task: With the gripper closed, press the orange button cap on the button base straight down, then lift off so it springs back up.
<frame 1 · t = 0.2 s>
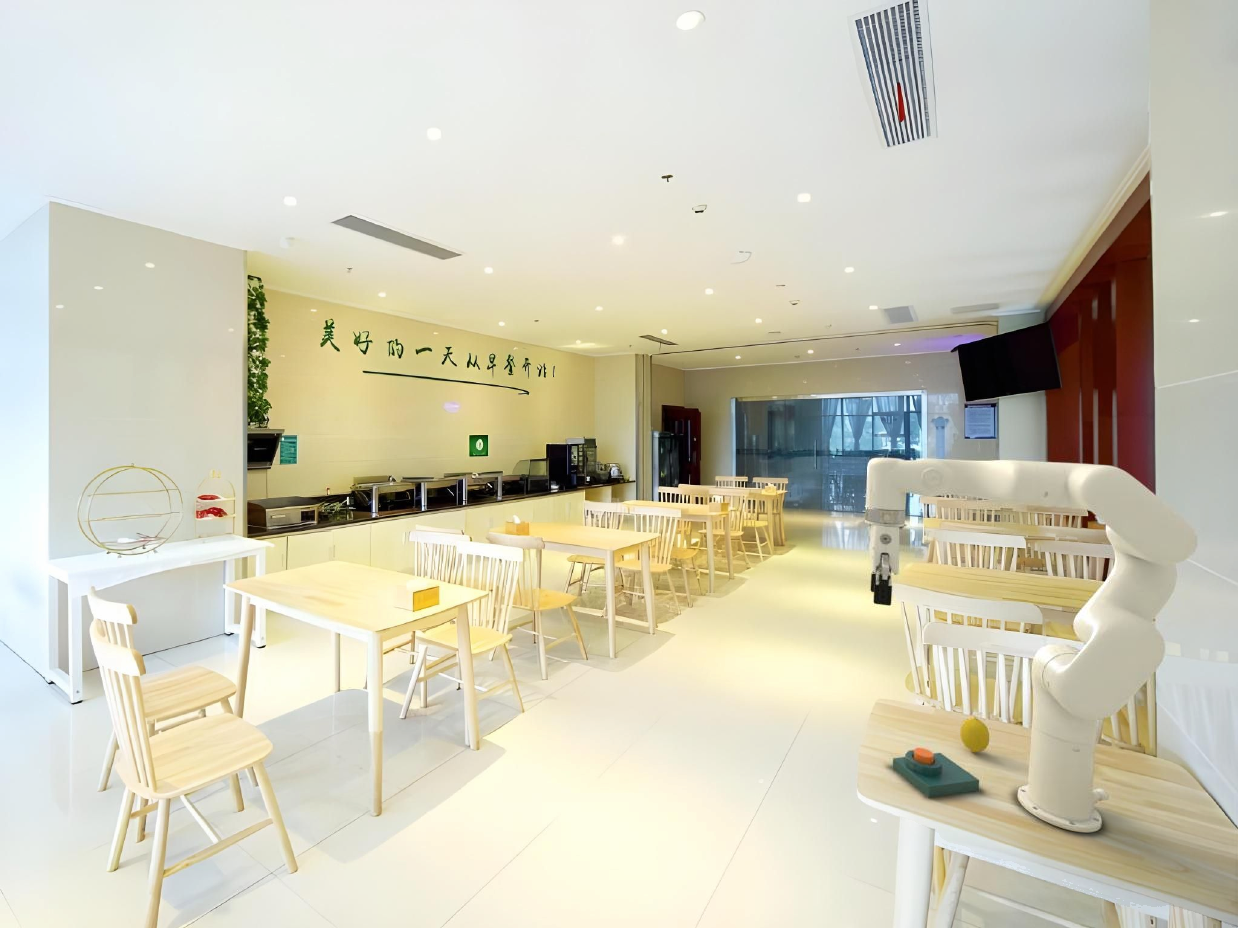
hand: (880, 598, 117), 37 cm above the table, tool pointing down, fingers open, 9 cm apart
lemon: (973, 753, 126), on the table
orange button cap: (923, 756, 116), point 4 cm above the table, slide at 0.1 cm
button base: (934, 778, 115), on the table
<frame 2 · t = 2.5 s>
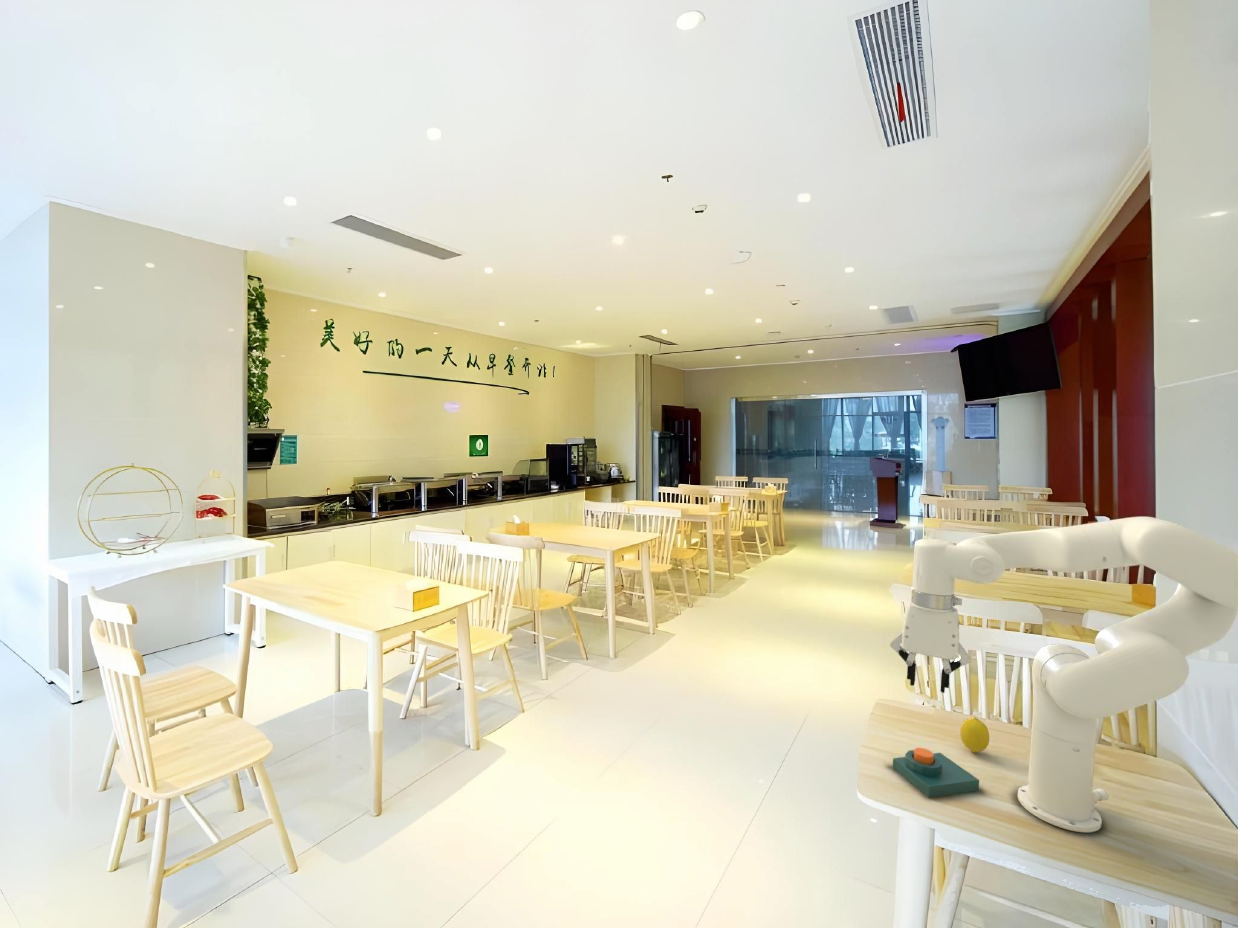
hand: (927, 685, 115), 19 cm above the table, tool pointing down, fingers open, 4 cm apart
nothing on the table moved.
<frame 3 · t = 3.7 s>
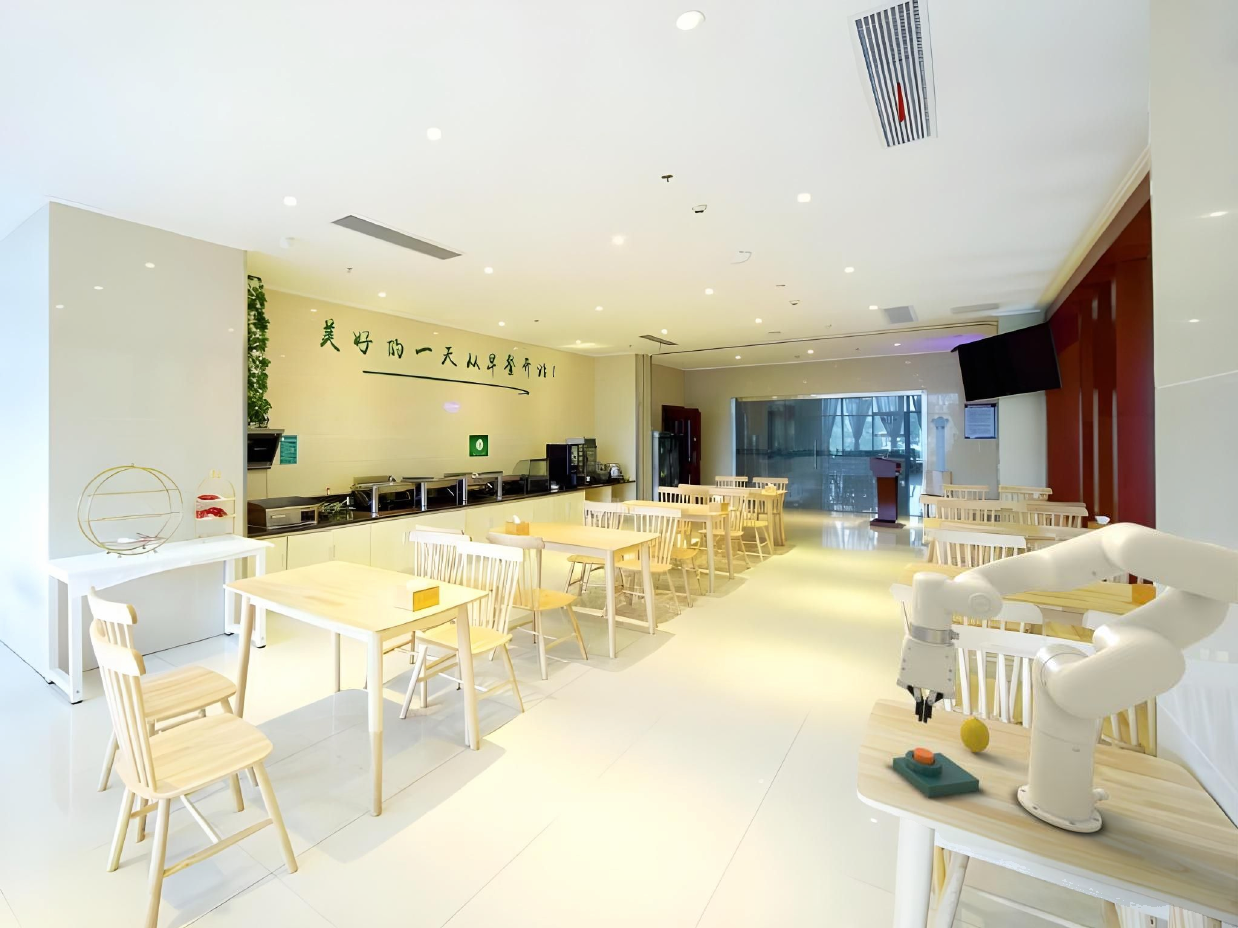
hand: (923, 719, 116), 12 cm above the table, tool pointing down, fingers closed
nothing on the table moved.
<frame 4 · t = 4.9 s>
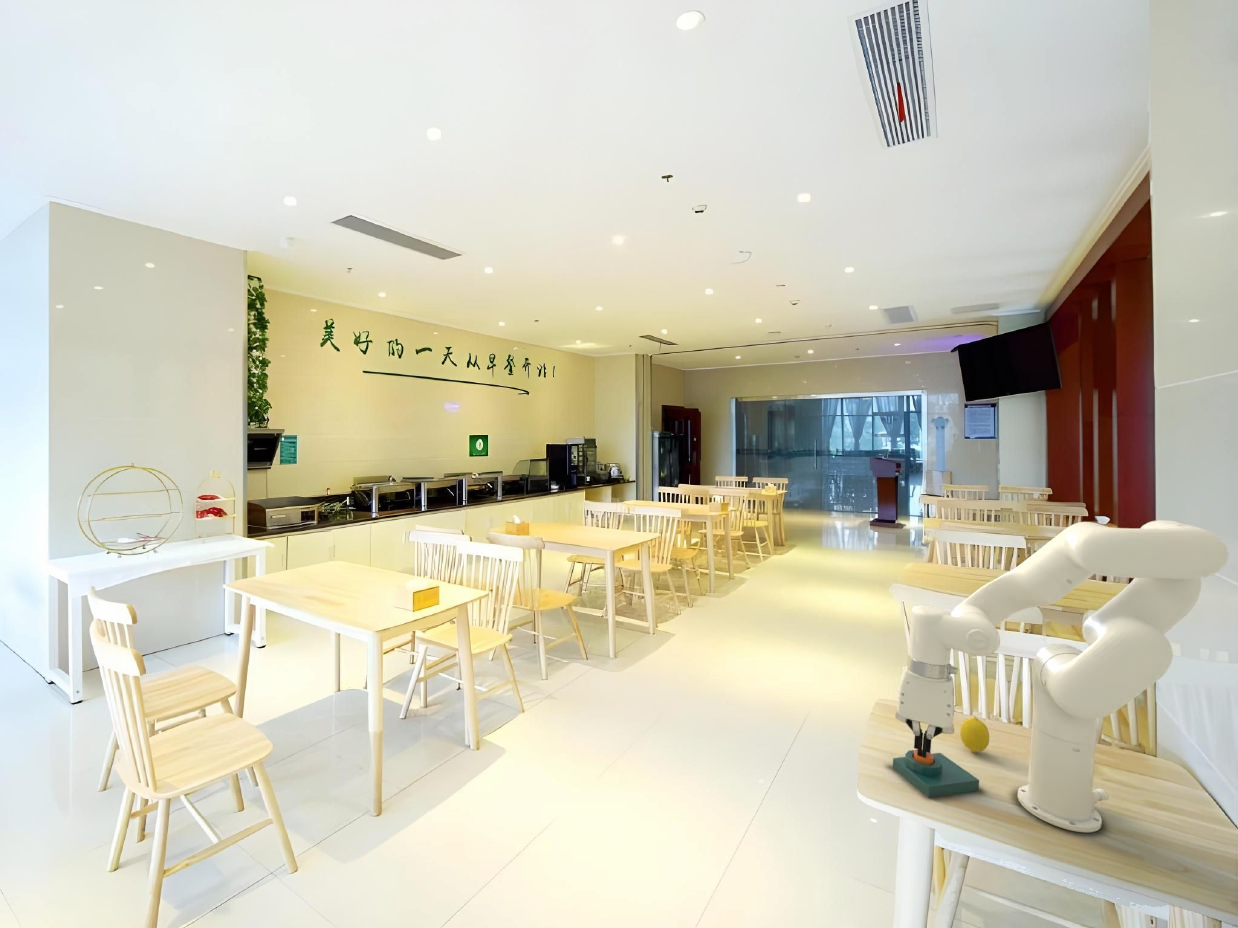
hand: (921, 753, 116), 5 cm above the table, tool pointing down, fingers closed
orange button cap: (923, 757, 116), point 4 cm above the table, slide at -0.3 cm, touching gripper
everything else where it was.
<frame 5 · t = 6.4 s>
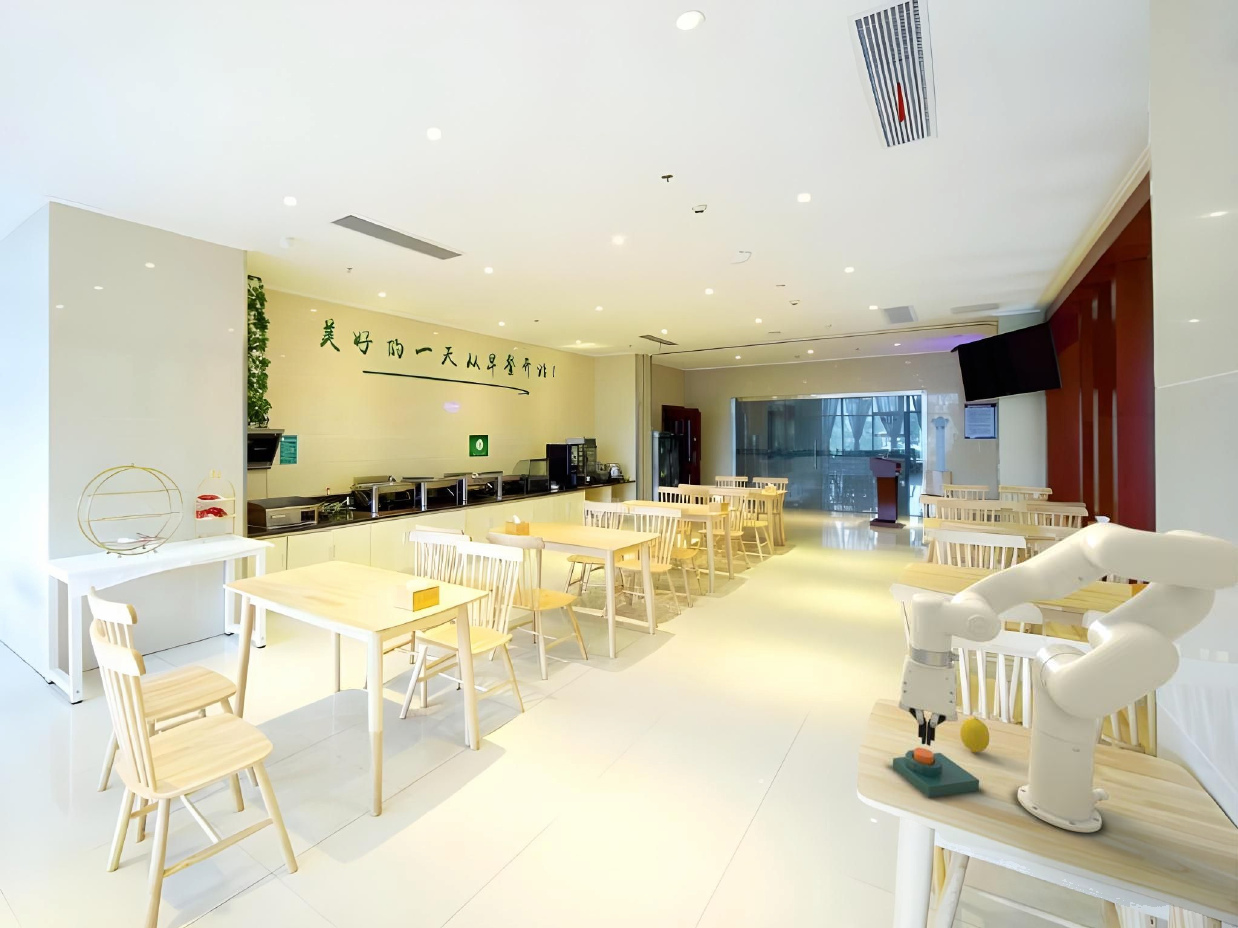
hand: (926, 741, 115), 8 cm above the table, tool pointing down, fingers closed
orange button cap: (923, 756, 116), point 4 cm above the table, slide at 0.1 cm
everything else where it was.
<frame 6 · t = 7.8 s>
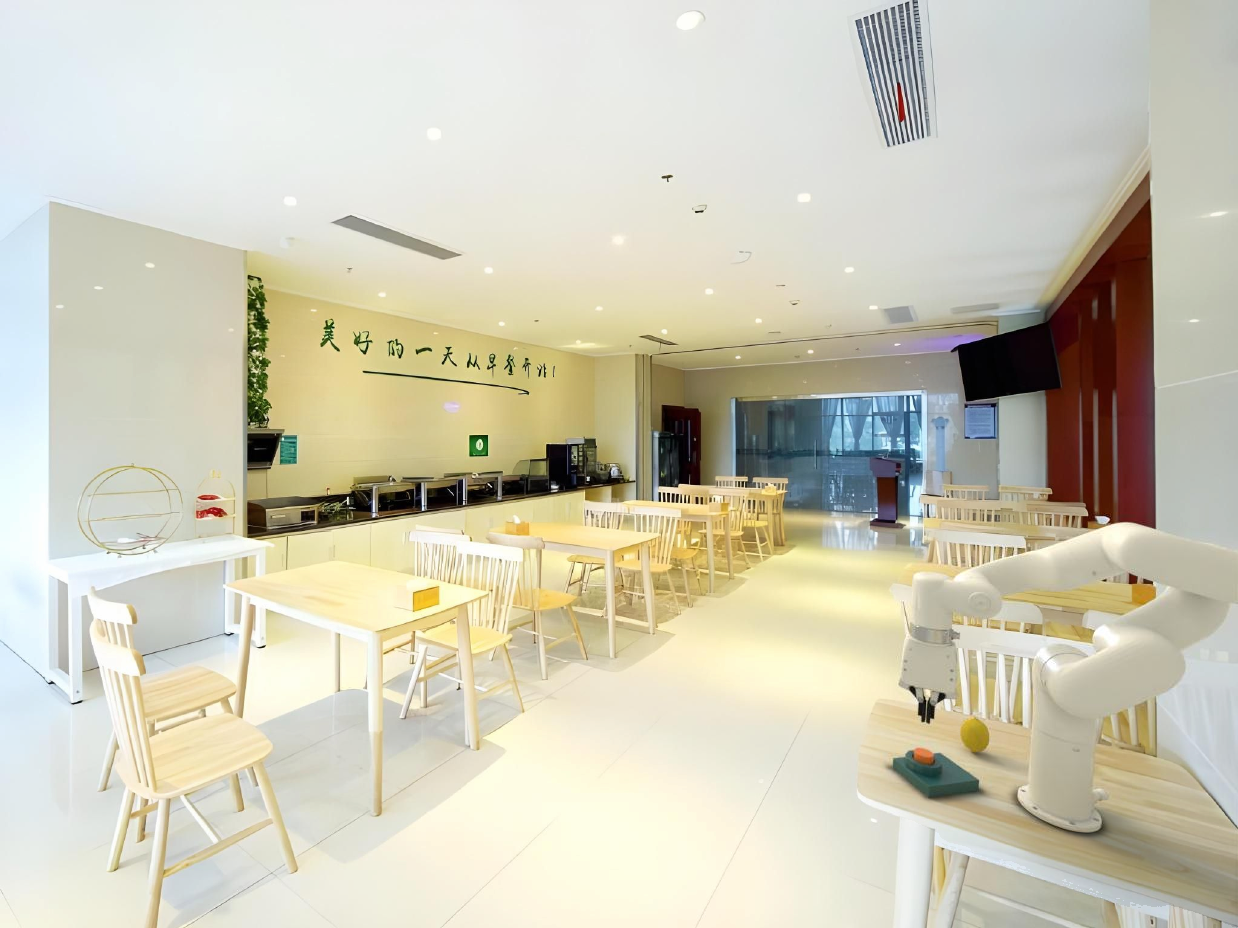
hand: (925, 720, 115), 12 cm above the table, tool pointing down, fingers closed
nothing on the table moved.
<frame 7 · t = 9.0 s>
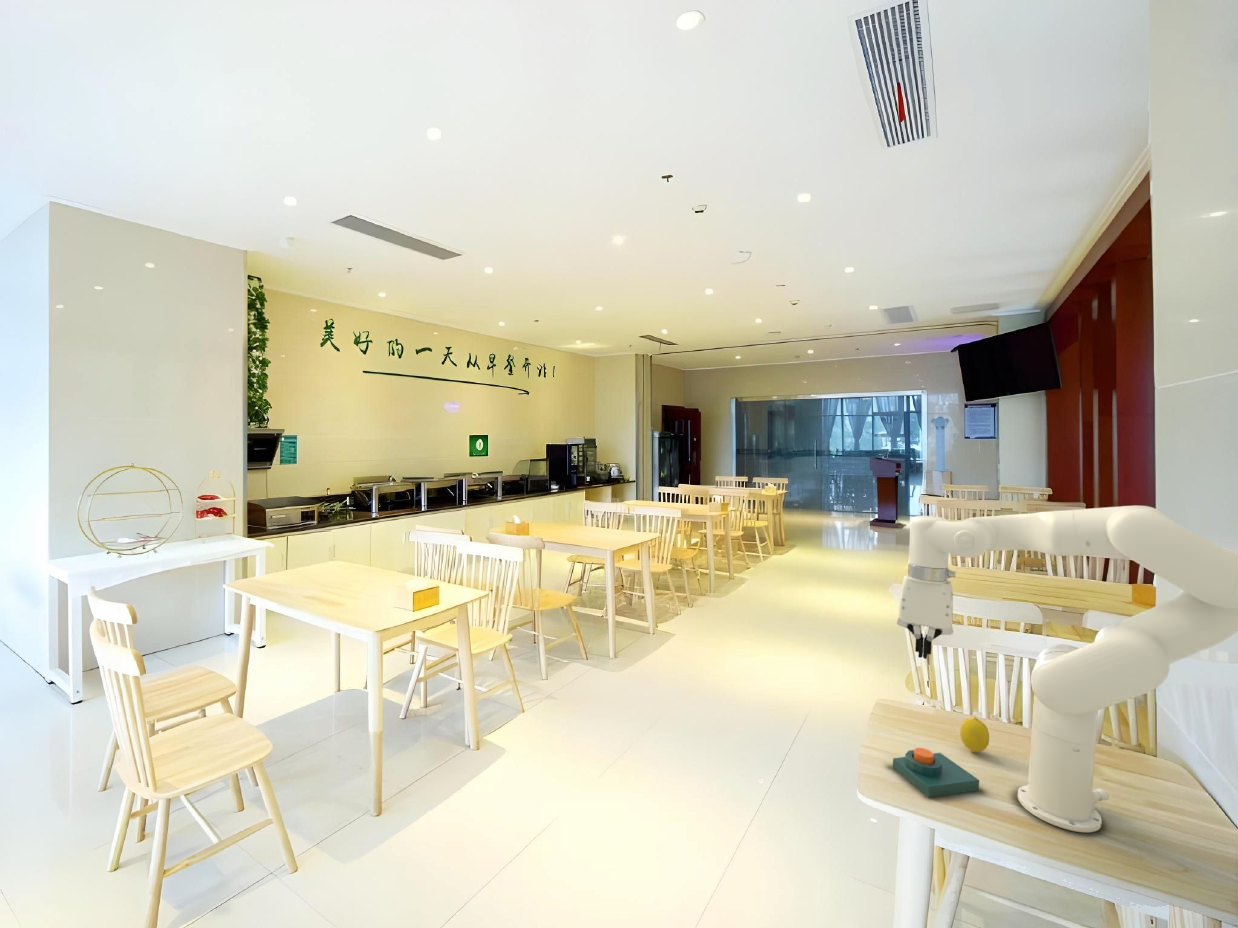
hand: (922, 655, 122), 23 cm above the table, tool pointing down, fingers closed
nothing on the table moved.
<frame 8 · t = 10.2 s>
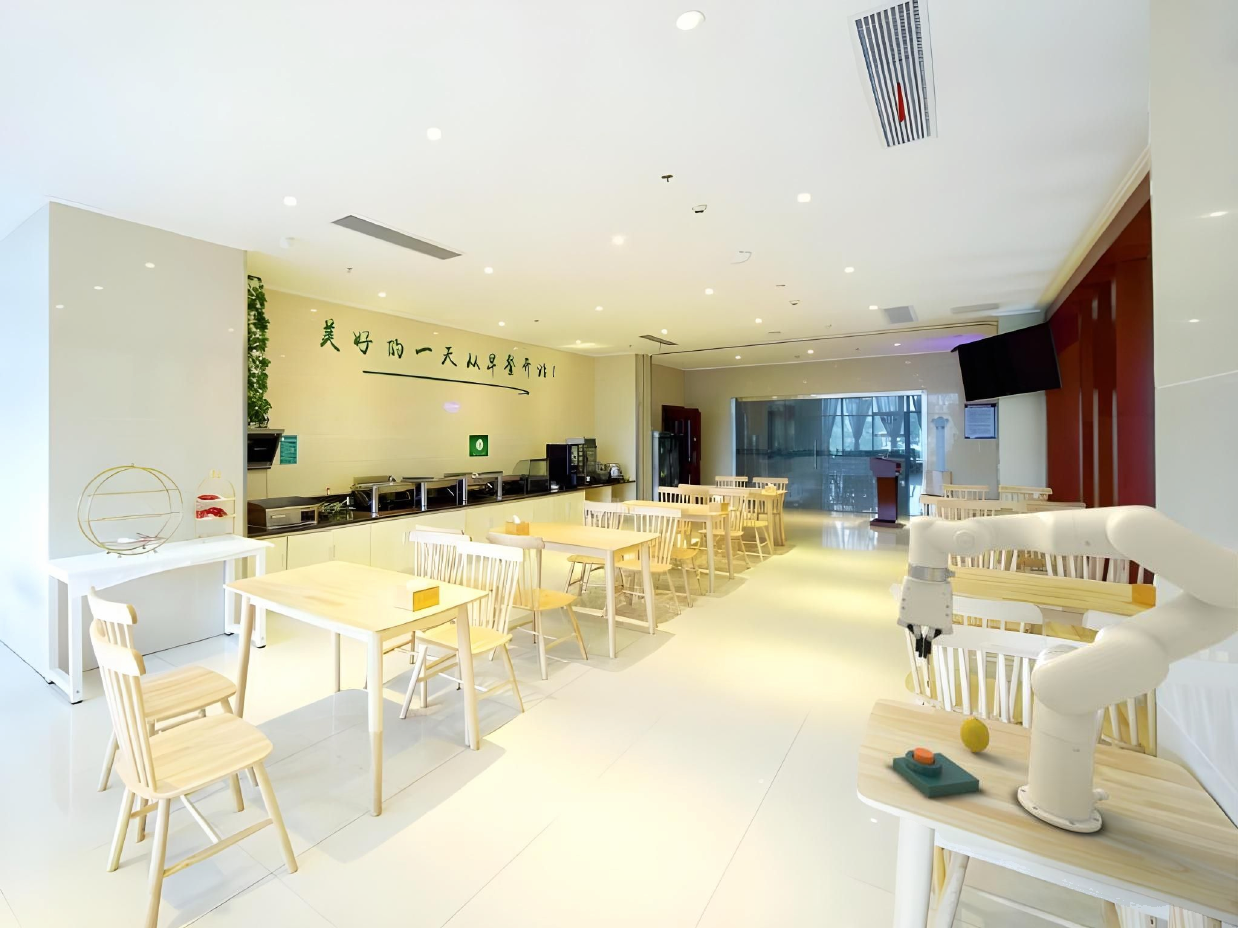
hand: (922, 655, 122), 23 cm above the table, tool pointing down, fingers closed
nothing on the table moved.
at the end: orange button cap pushed in 1.1 cm at the most during the clip and back out by the end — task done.
